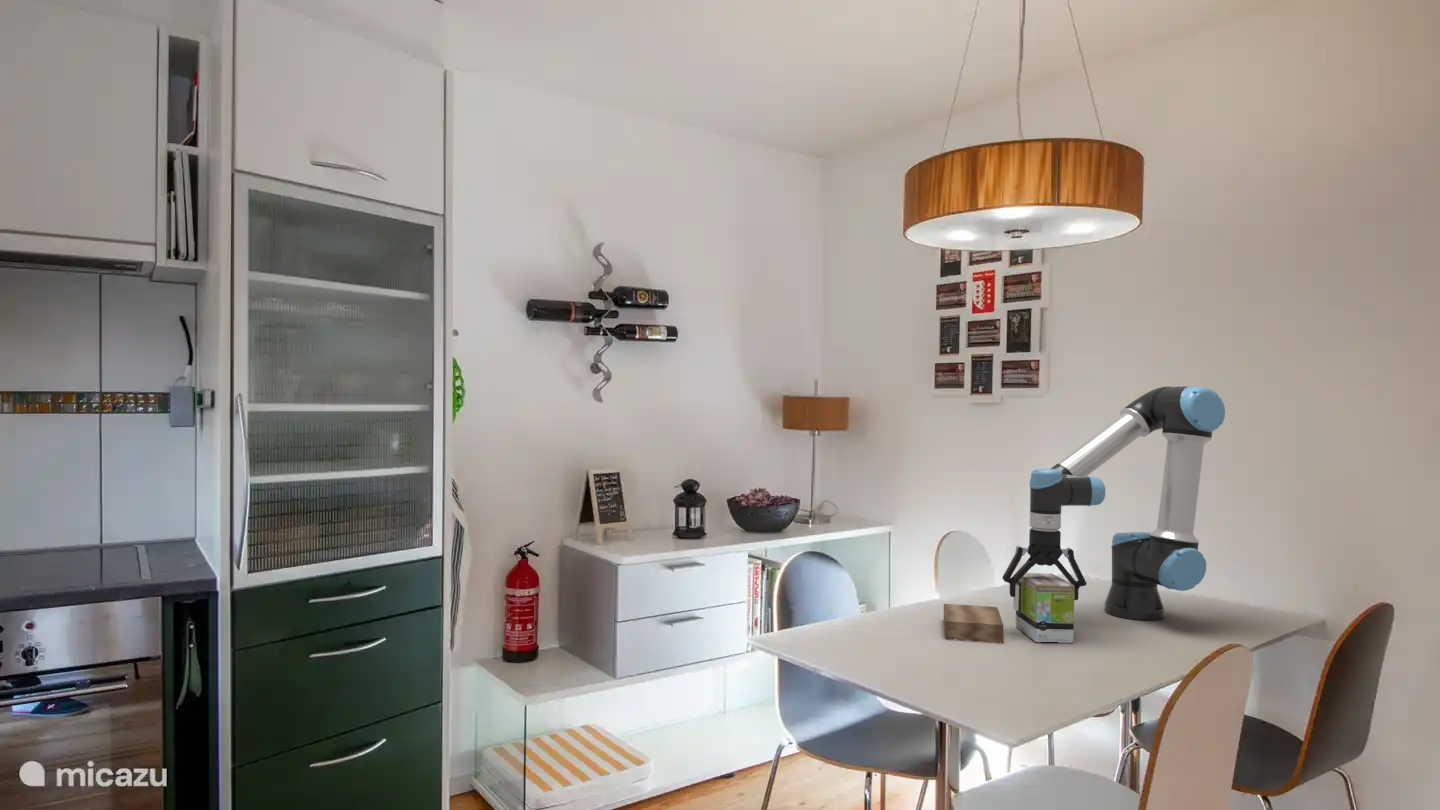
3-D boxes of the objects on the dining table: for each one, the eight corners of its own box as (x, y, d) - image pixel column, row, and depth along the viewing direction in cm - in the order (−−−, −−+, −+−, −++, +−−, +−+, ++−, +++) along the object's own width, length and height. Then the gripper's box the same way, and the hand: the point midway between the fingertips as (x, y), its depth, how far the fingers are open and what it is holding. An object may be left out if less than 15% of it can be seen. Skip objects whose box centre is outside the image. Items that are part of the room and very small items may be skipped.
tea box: (1075, 643, 208) (1075, 584, 208) (1034, 643, 208) (1035, 584, 208) (1052, 626, 223) (1052, 571, 223) (1014, 626, 223) (1014, 571, 223)
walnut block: (997, 625, 226) (997, 607, 226) (1003, 644, 208) (1003, 624, 208) (943, 621, 229) (943, 603, 229) (945, 640, 211) (945, 621, 211)
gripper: (997, 529, 214) (995, 611, 214) (1100, 533, 210) (1098, 617, 210) (992, 524, 221) (990, 604, 221) (1092, 528, 217) (1090, 610, 217)
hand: (1043, 611), depth 216 cm, fingers open, 13 cm apart
